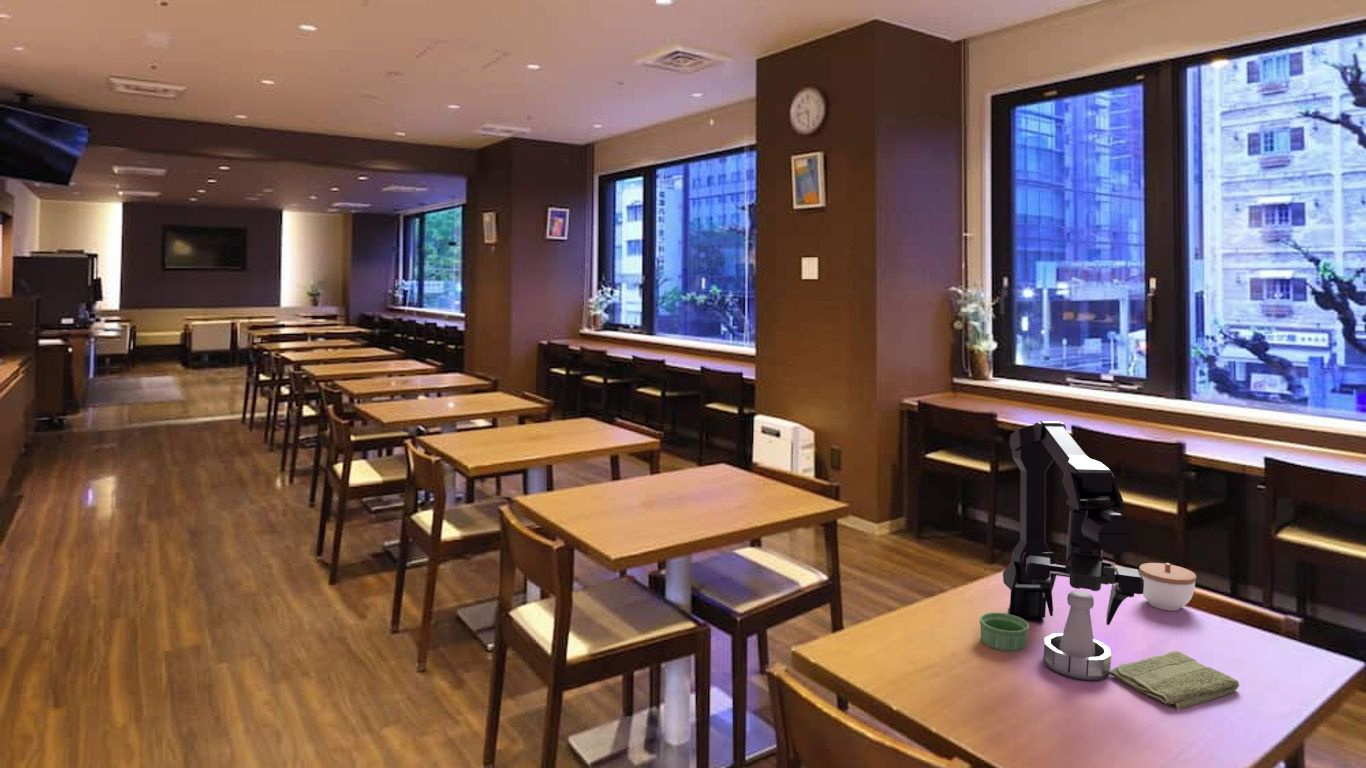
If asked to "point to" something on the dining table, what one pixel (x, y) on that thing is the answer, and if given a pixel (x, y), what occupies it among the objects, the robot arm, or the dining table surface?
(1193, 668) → the washcloth
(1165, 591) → the lidded jar
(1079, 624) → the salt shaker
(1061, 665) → the faceted metal bowl
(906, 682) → the dining table surface
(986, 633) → the ramekin
